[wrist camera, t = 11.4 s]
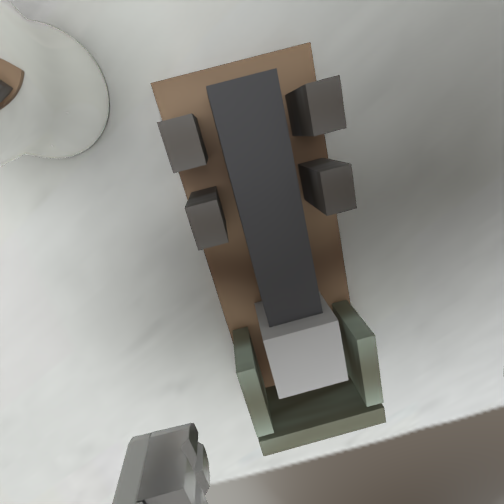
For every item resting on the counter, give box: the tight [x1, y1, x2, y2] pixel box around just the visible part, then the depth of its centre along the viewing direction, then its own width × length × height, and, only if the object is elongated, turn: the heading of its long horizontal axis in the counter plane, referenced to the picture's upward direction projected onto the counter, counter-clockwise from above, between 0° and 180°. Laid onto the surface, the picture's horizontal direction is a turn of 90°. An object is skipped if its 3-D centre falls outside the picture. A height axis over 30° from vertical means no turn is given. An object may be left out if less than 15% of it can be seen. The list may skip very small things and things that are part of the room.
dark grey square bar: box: [206, 68, 348, 399], centre depth 17 cm, size 16×4×4 cm, turn 14°
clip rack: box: [151, 42, 386, 456], centre depth 18 cm, size 21×8×5 cm, turn 14°
